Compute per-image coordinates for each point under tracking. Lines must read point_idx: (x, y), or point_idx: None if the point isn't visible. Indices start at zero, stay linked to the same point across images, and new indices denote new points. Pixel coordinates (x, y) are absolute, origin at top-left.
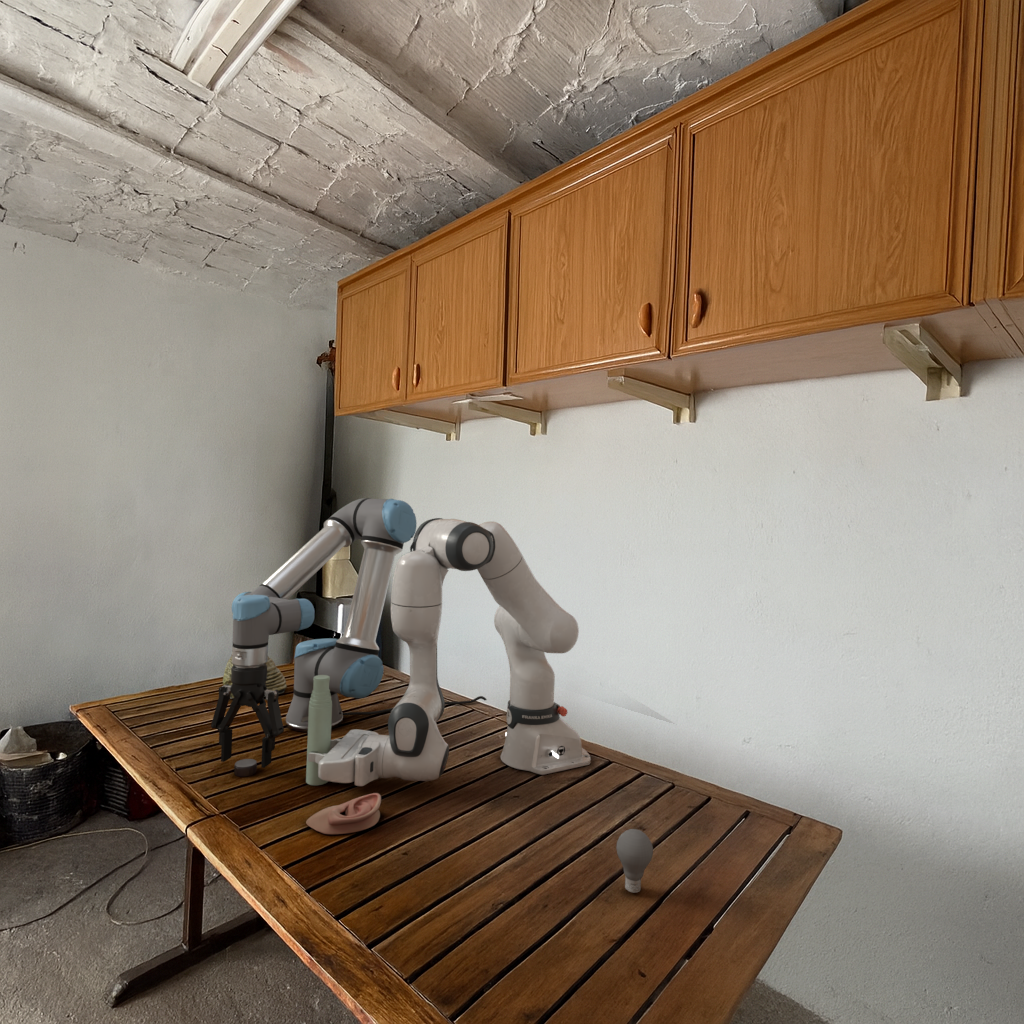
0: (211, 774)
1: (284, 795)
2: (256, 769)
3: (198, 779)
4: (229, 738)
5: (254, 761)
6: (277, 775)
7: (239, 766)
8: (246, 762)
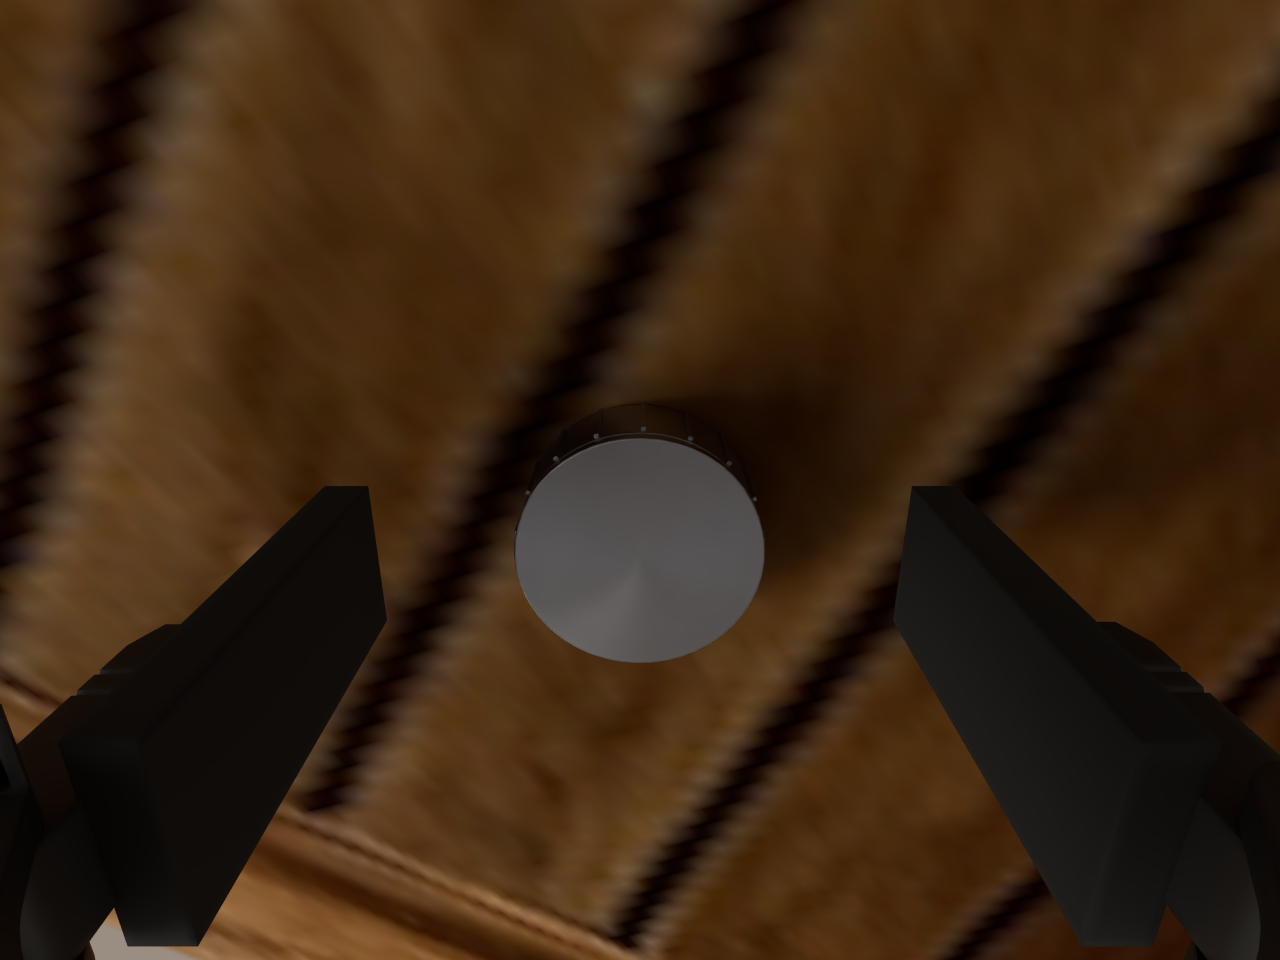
0: None
1: None
2: (748, 477)
3: (327, 740)
4: (248, 708)
5: (717, 496)
6: (1006, 473)
7: (630, 653)
8: (640, 546)
